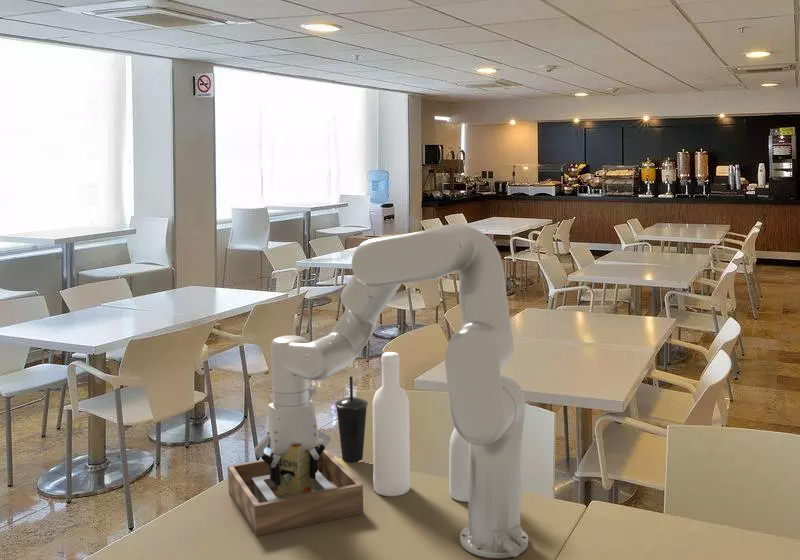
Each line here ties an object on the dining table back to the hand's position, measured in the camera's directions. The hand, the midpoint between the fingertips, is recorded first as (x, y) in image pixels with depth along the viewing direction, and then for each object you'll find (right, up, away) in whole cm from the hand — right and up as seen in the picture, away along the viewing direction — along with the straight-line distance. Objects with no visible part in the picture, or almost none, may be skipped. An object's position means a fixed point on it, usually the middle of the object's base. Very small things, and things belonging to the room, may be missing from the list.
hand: (294, 479), depth 164 cm
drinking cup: (+11, -1, +25) cm, 27 cm away
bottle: (+20, -4, +7) cm, 22 cm away
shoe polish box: (0, -4, +1) cm, 4 cm away
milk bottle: (+36, -4, +4) cm, 37 cm away
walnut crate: (0, -5, +1) cm, 5 cm away
